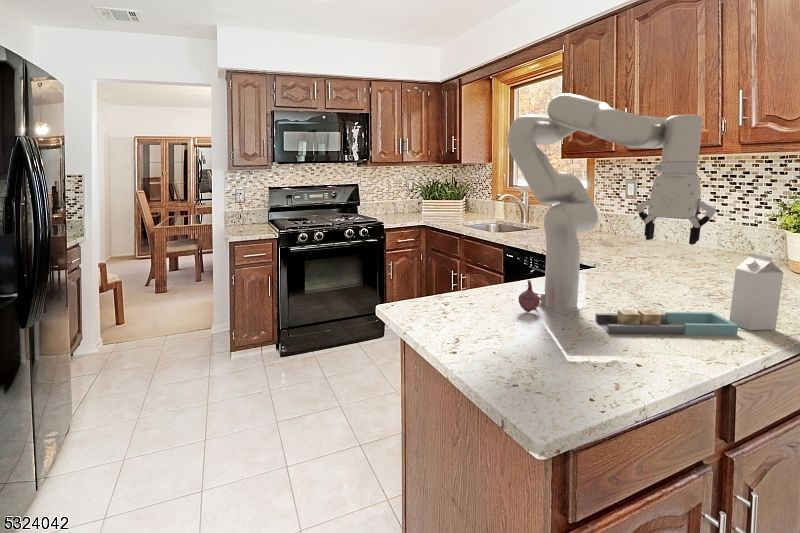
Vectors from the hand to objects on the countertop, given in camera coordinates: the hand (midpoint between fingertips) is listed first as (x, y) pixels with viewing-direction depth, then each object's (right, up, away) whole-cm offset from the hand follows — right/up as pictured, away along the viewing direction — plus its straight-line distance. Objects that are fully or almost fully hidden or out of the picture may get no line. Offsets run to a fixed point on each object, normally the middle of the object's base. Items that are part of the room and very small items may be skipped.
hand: (670, 241), depth 116 cm
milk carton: (+26, -22, +9) cm, 36 cm away
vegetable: (-28, -20, +25) cm, 42 cm away
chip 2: (-2, -22, +7) cm, 23 cm away
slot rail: (-4, -23, +7) cm, 24 cm away
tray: (+11, -23, +6) cm, 26 cm away
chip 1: (-7, -22, +7) cm, 24 cm away
